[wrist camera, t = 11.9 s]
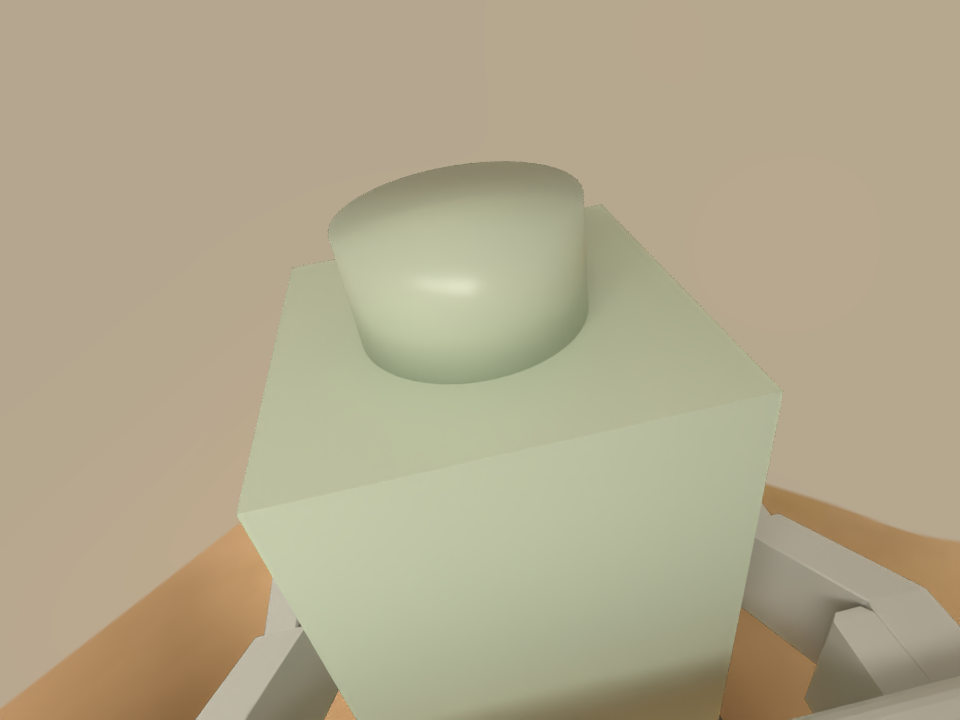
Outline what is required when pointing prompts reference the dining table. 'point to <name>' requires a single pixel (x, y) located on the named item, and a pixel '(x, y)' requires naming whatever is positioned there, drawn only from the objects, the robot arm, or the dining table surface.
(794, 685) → the dining table surface
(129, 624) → the dining table surface
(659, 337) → the tower brick
